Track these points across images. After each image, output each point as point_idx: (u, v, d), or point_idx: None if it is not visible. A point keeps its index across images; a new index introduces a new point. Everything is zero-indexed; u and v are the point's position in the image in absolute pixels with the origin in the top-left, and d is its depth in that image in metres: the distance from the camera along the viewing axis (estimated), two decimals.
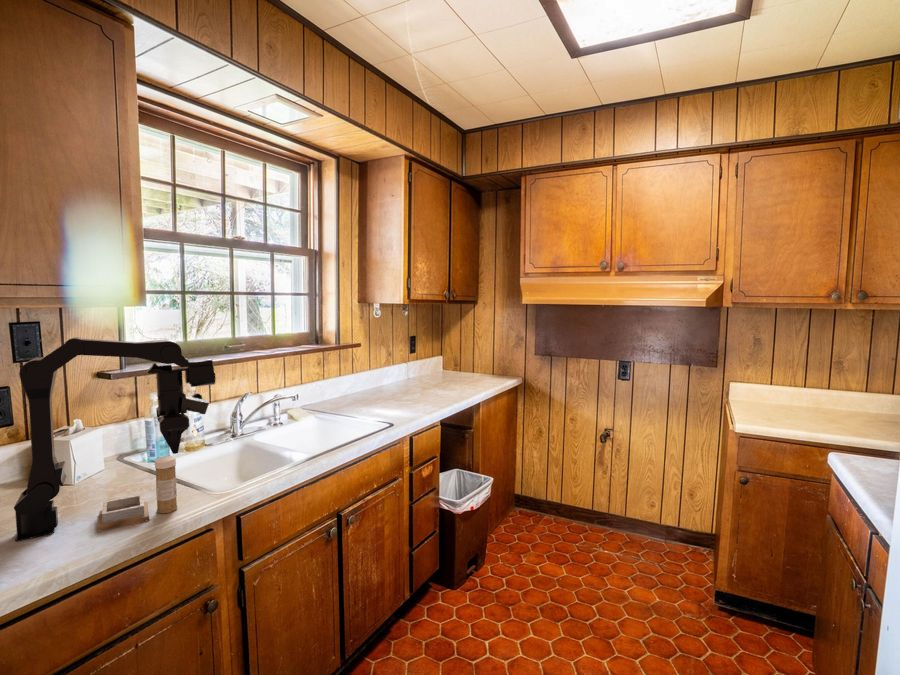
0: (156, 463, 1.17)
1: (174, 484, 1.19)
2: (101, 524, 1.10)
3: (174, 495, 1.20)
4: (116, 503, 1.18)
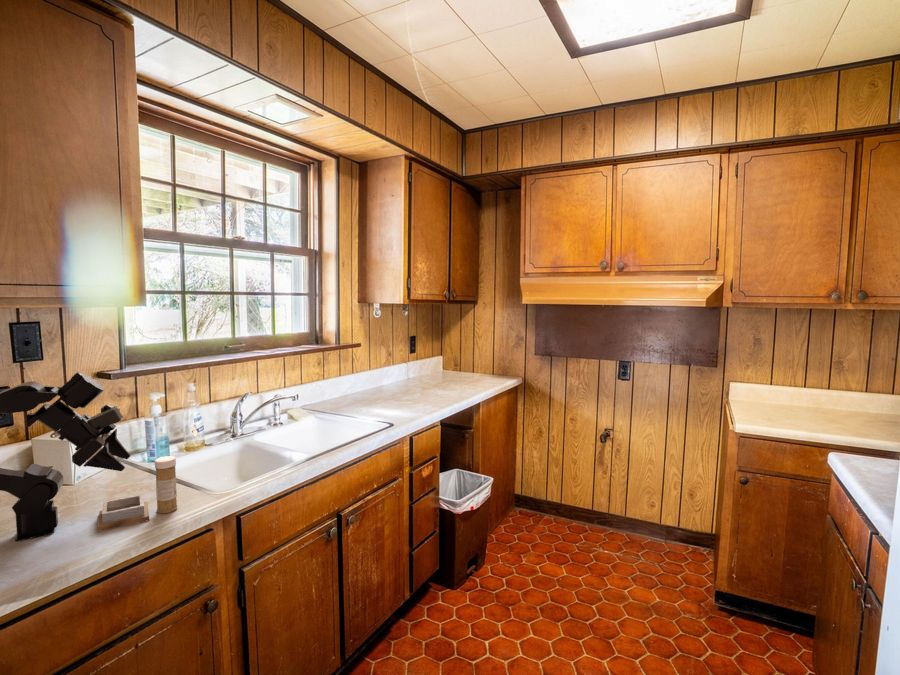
0: (156, 463, 1.17)
1: (174, 484, 1.19)
2: (101, 524, 1.10)
3: (174, 495, 1.20)
4: (116, 503, 1.18)
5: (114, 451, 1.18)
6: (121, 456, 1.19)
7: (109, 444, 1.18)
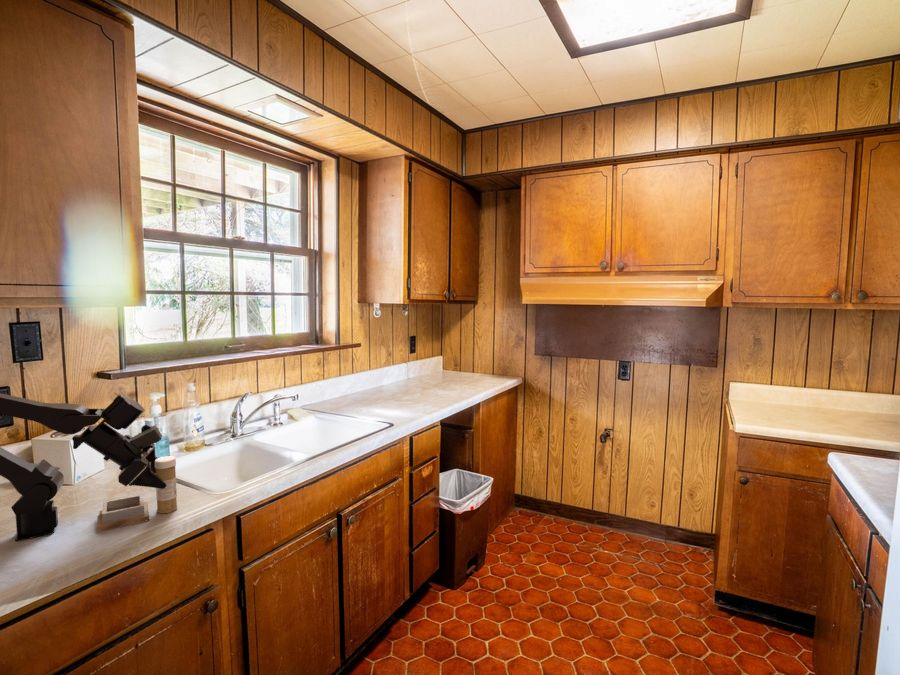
0: (156, 463, 1.17)
1: (174, 484, 1.19)
2: (101, 524, 1.10)
3: (174, 495, 1.20)
4: (116, 503, 1.18)
5: (154, 468, 1.22)
6: None
7: (149, 462, 1.22)
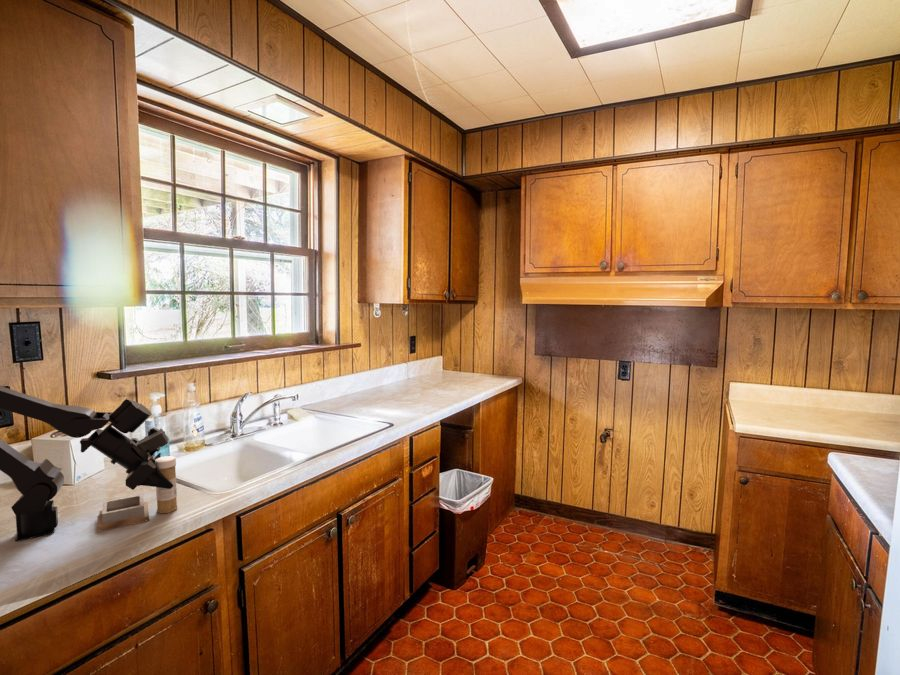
0: None
1: (174, 484, 1.19)
2: (101, 524, 1.10)
3: (174, 495, 1.20)
4: (116, 503, 1.18)
5: None
6: None
7: None
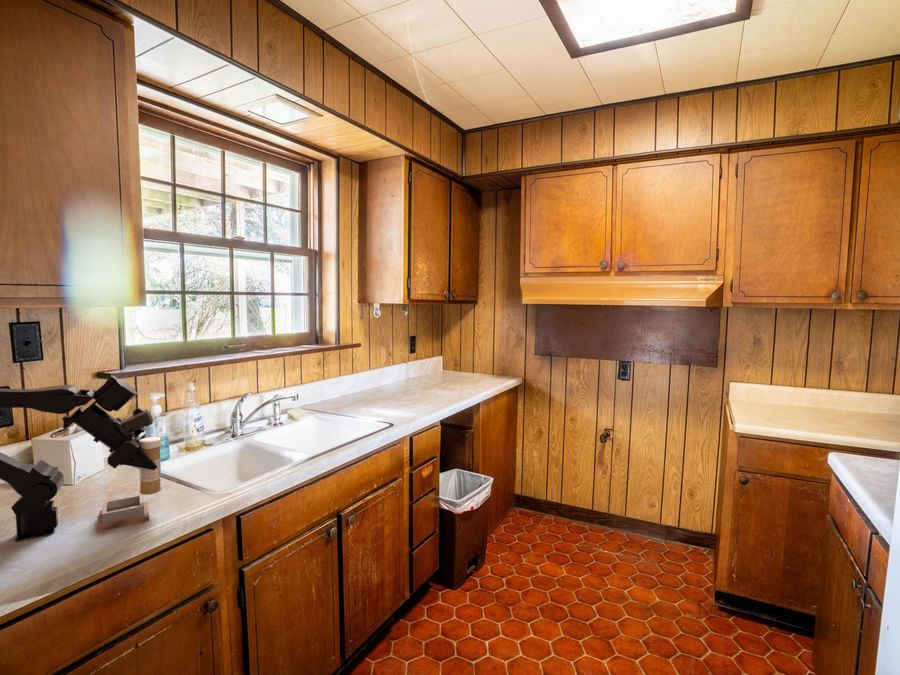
0: None
1: (158, 465, 1.18)
2: (101, 524, 1.10)
3: (158, 477, 1.18)
4: (116, 503, 1.18)
5: None
6: None
7: None
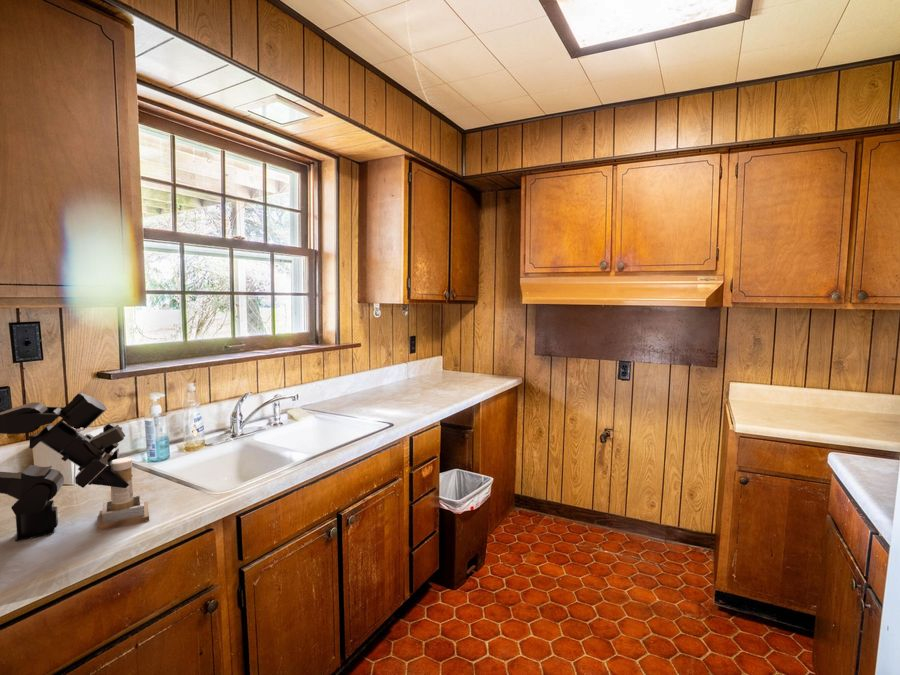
0: None
1: (130, 487, 1.15)
2: (101, 524, 1.10)
3: (130, 498, 1.15)
4: None
5: None
6: None
7: None
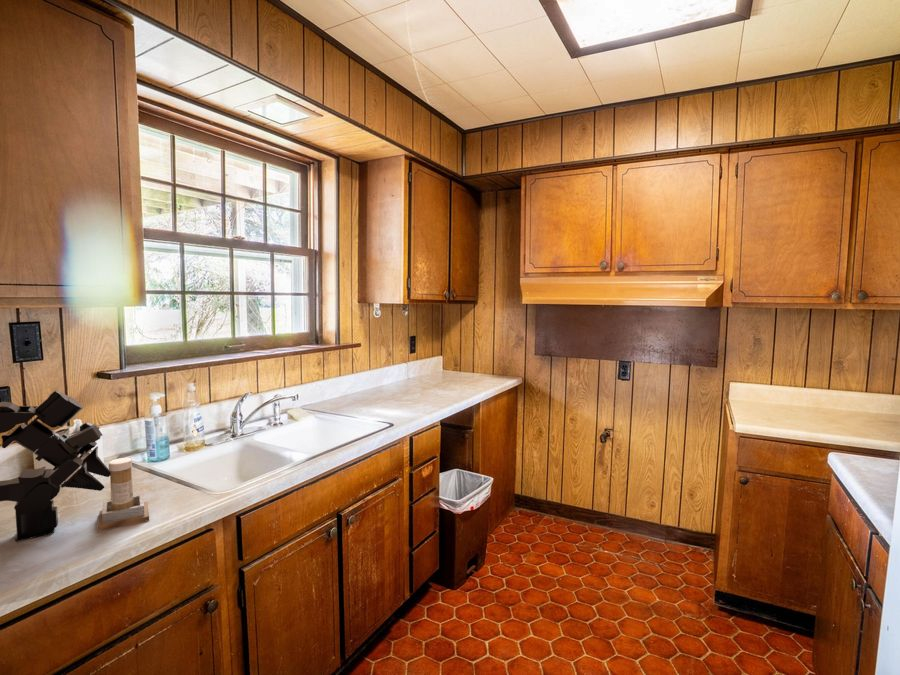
0: (110, 465, 1.12)
1: (130, 487, 1.15)
2: (101, 524, 1.10)
3: (130, 498, 1.15)
4: None
5: (95, 469, 1.16)
6: (102, 474, 1.17)
7: (89, 462, 1.16)
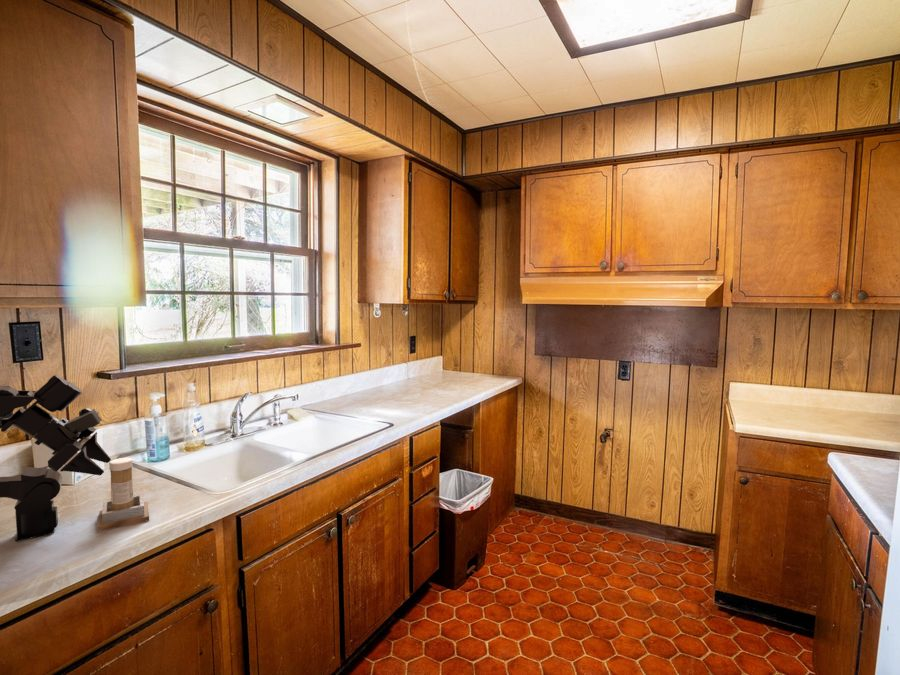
0: (110, 465, 1.13)
1: (130, 487, 1.15)
2: (101, 524, 1.10)
3: (130, 498, 1.15)
4: None
5: (94, 455, 1.16)
6: (101, 460, 1.17)
7: (89, 448, 1.16)
